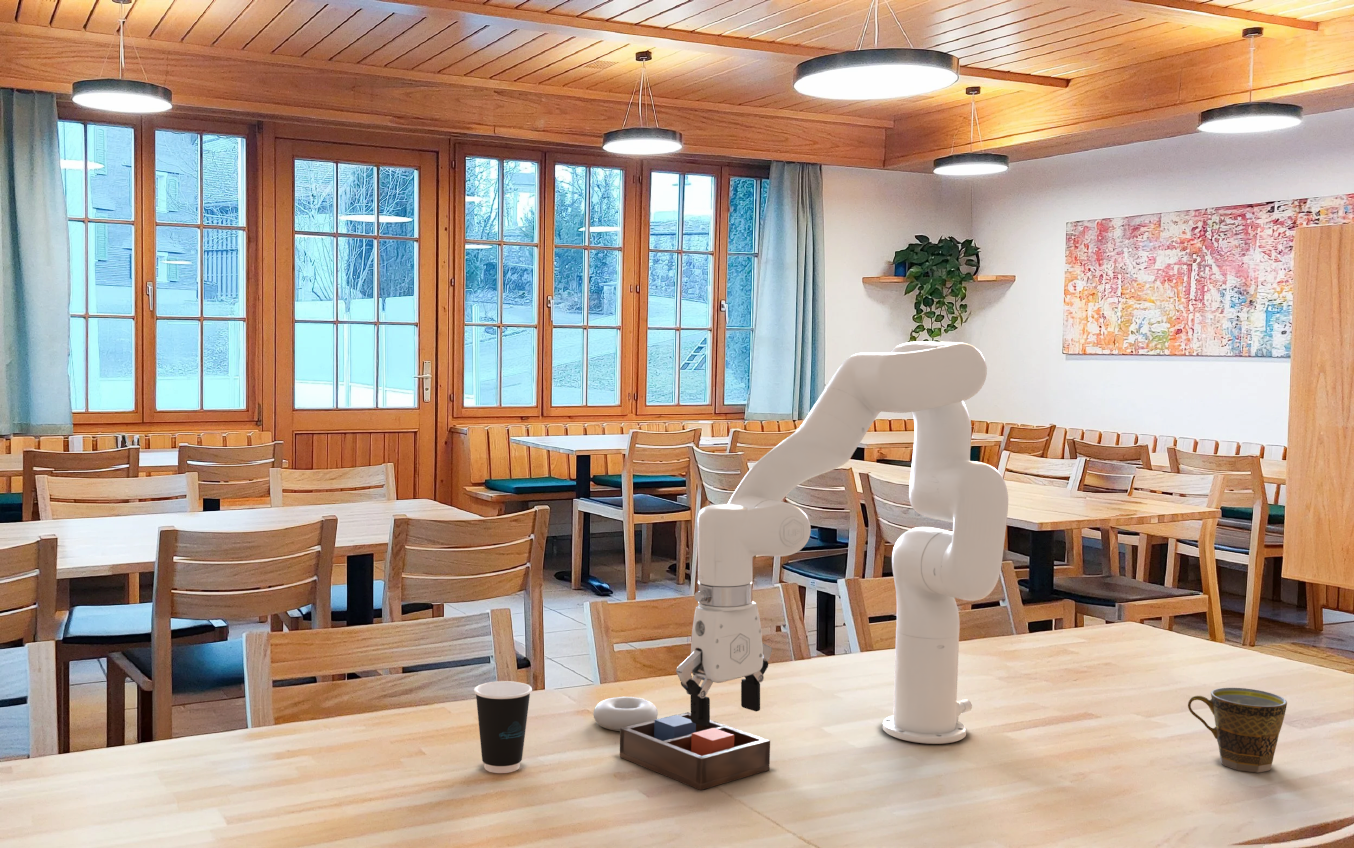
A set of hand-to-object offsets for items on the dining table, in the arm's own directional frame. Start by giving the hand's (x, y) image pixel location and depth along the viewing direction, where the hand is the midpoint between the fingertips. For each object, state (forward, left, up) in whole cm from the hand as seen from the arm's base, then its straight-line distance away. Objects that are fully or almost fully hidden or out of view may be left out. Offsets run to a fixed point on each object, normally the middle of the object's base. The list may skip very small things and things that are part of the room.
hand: (725, 716), depth 173 cm
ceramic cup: (-60, +44, -7) cm, 75 cm away
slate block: (+2, -8, -6) cm, 10 cm away
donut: (-2, -24, -7) cm, 25 cm away
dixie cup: (+24, -19, -7) cm, 32 cm away
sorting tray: (+2, -4, -7) cm, 9 cm away
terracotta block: (+2, 0, -6) cm, 7 cm away
